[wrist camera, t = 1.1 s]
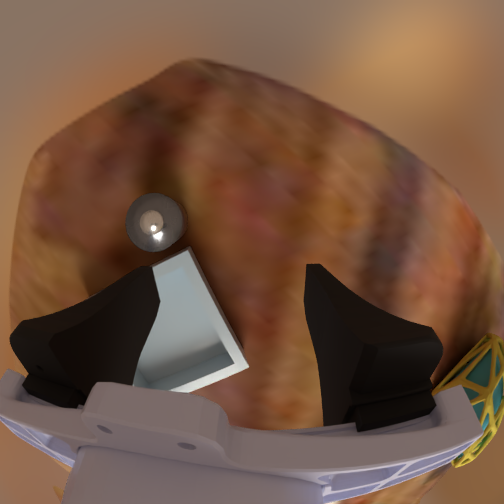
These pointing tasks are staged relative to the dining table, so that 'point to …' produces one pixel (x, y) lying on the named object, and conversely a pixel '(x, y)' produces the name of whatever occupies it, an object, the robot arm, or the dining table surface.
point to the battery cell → (155, 222)
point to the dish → (187, 331)
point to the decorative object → (480, 389)
